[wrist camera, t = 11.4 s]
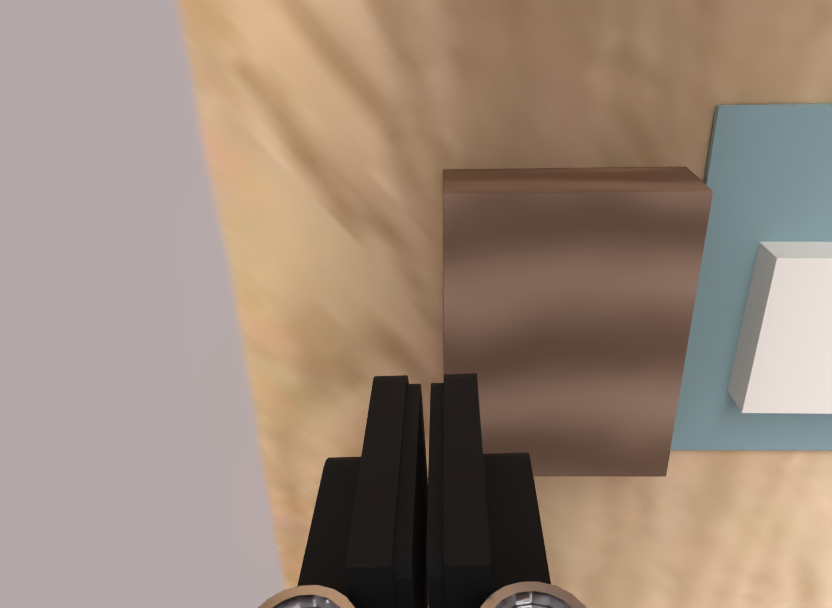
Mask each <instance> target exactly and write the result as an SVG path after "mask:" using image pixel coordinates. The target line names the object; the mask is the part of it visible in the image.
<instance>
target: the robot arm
mask: <svg viewBox="0 0 832 608" xmlns="http://www.w3.org/2000/svg"><path fill="white" fill-rule="evenodd" d="M258 608H586V606H585V605H583V604H582V603H581V602H580V601H579V600H578V599H577V598H576V597H575V596H574V595H573V594H571V593H569V592H567V591H565V590H563V589H561V588H559V587H557V586H555V585H551V582H550V576H549V570H548V564H547V558H546V552H545V545H544V539H543V533H542V527H541V521H540V515H539V509H538V503H537V496H536V490H535V484H534V478H533V472H532V466H531V460H530V455H529V453H528V452H525V453H488V454H483V448H482V435H481V421H480V408H479V394H478V381H477V373H464V374H444V383H431V400H430V436H429V472H428V477H427V463H426V448H425V434H424V419H423V405H422V391H421V384H409V381H408V376H407V375H404V376H375V377H374V379H373V385H372V392H371V398H370V405H369V411H368V418H367V424H366V430H365V437H364V443H363V450H362V456H361V457H338V458H328V459H327V460H326V462H325V465H324V469H323V473H322V478H321V482H320V487H319V491H318V496H317V501H316V505H315V510H314V514H313V519H312V523H311V528H310V532H309V537H308V541H307V546H306V550H305V555H304V559H303V564H302V568H301V573H300V577H299V582H298V586H297V587H294V588H290V589H287V590H283V591H282V592H280V593H278V594H276V595H274V596H273V597H271V598H269V599H267V600H266V601H265V602H264V603H263V604H262V605H261V606H260V607H258Z"/></svg>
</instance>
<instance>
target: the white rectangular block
mask: <svg viewBox="0 0 832 608" xmlns="http://www.w3.org/2000/svg"><path fill="white" fill-rule="evenodd" d="M728 392H729V394H730V395H731V397H732V398H733V400H734V401H735V403H736V404H737V406H738V407H739V409H740V411H741V412H742V413H803V414H832V242H759V245H758V250H757V255H756V259H755V264H754V269H753V273H752V278H751V283H750V287H749V292H748V297H747V301H746V306H745V311H744V316H743V320H742V325H741V330H740V334H739V339H738V344H737V348H736V353H735V358H734V362H733V367H732V372H731V377H730V381H729V386H728Z"/></svg>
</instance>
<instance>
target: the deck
mask: <svg viewBox="0 0 832 608" xmlns="http://www.w3.org/2000/svg"><path fill="white" fill-rule="evenodd" d="M712 195H713V191H712V190H711V189H710V188H709V187H708V186H707V185H706V184H704V183H703V182H702V181H701V180H700V179H699V178H698V177H697V176H696V175H694V174H693V173H692V172H691V171H690V170H689V169H688V168H687V167H630V168H540V169H451V170H443V313H444V374H464V373H477V381H478V394H479V408H480V421H481V435H482V448H483V454H488V453H525V452H528V453H529V455H530V460H531V466H532V472H533V476H666V472H667V466H668V460H669V454H670V448H671V442H672V436H673V430H674V424H675V418H676V412H677V406H678V400H679V394H680V388H681V382H682V376H683V370H684V364H685V358H686V352H687V346H688V340H689V334H690V328H691V322H692V316H693V310H694V304H695V298H696V292H697V286H698V280H699V274H700V268H701V261H702V255H703V249H704V243H705V237H706V231H707V225H708V219H709V213H710V207H711V201H712Z"/></svg>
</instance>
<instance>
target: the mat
mask: <svg viewBox="0 0 832 608" xmlns="http://www.w3.org/2000/svg"><path fill="white" fill-rule="evenodd" d="M704 184H706V185H707V186H708V187H709V188H710V189H711V190H712V191H713V195H712V201H711V207H710V213H709V219H708V225H707V231H706V237H705V243H704V249H703V255H702V261H701V268H700V274H699V280H698V286H697V292H696V298H695V304H694V310H693V316H692V322H691V328H690V334H689V340H688V346H687V352H686V358H685V364H684V370H683V376H682V382H681V388H680V394H679V400H678V406H677V412H676V418H675V424H674V430H673V436H672V442H671V448H670V450H832V414H803V413H742V412H741V411H740V409H739V407H738V406H737V404H736V403H735V401H734V400H733V398H732V397H731V395H730V394H729V392H728V386H729V381H730V377H731V372H732V367H733V362H734V358H735V353H736V348H737V344H738V339H739V334H740V330H741V325H742V320H743V316H744V311H745V306H746V301H747V297H748V292H749V287H750V283H751V278H752V273H753V269H754V264H755V259H756V255H757V250H758V245H759V242H832V103H807V104H737V105H716V110H715V116H714V122H713V128H712V135H711V141H710V147H709V154H708V160H707V166H706V172H705V179H704Z"/></svg>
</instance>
